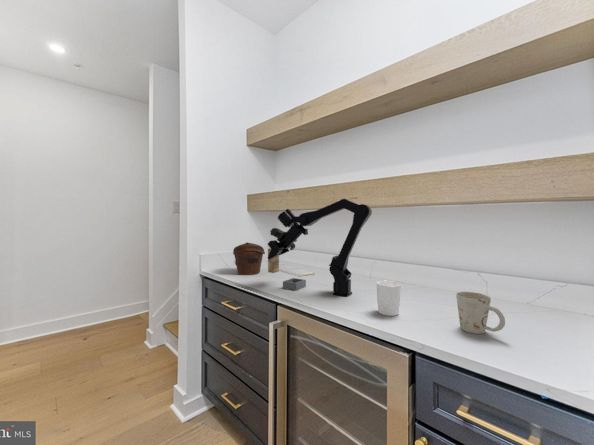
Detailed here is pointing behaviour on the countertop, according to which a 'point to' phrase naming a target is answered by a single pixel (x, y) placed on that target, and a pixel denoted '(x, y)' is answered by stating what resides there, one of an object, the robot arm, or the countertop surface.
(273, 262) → the slat
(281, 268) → the baseboard
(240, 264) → the brown tapered cylinder
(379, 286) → the white cup
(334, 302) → the countertop surface
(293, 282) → the end cap
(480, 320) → the mug
